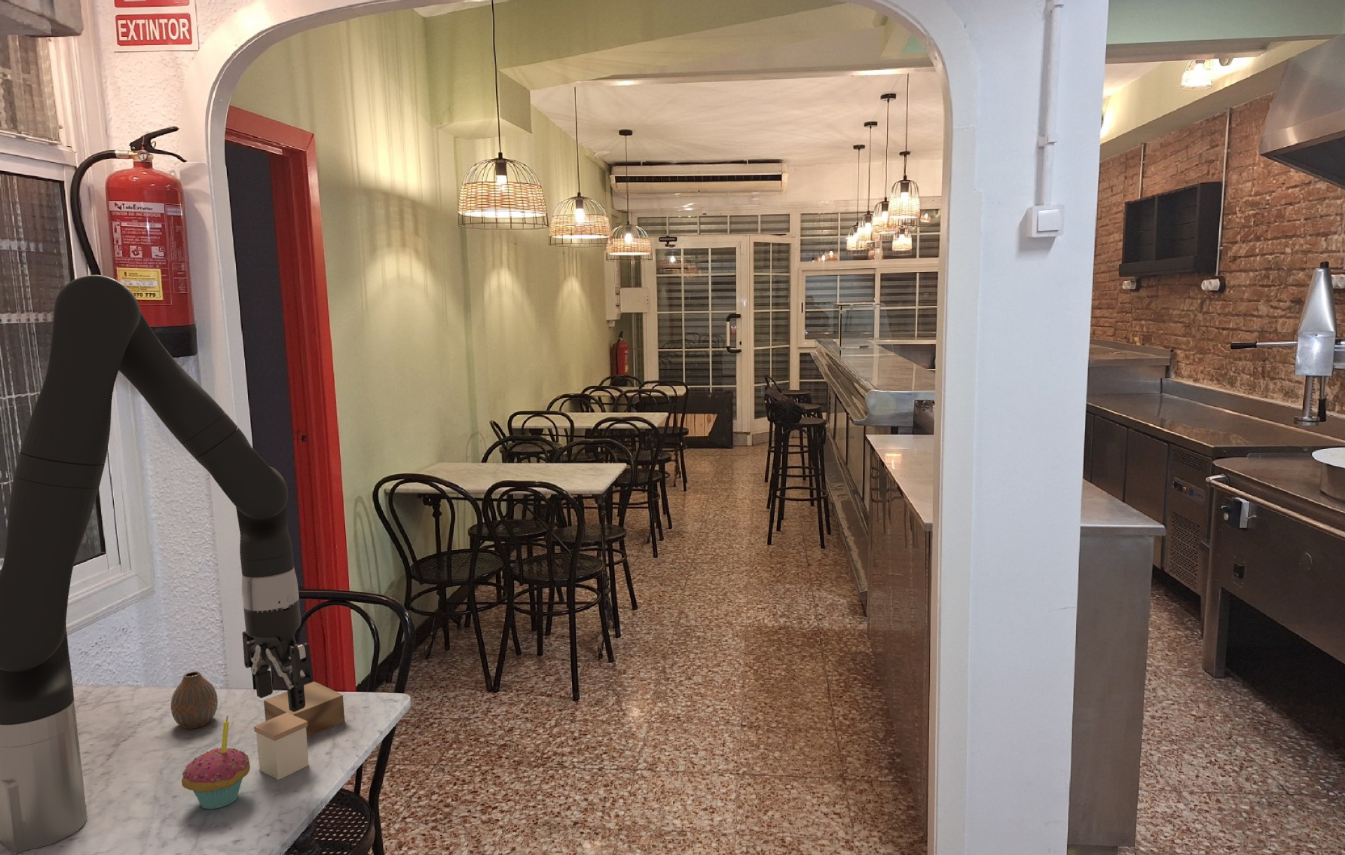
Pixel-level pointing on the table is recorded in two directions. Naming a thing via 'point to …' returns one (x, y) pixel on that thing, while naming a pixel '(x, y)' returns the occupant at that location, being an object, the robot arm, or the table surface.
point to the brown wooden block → (311, 708)
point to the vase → (194, 701)
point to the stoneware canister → (282, 745)
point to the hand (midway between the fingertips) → (281, 702)
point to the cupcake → (217, 774)
